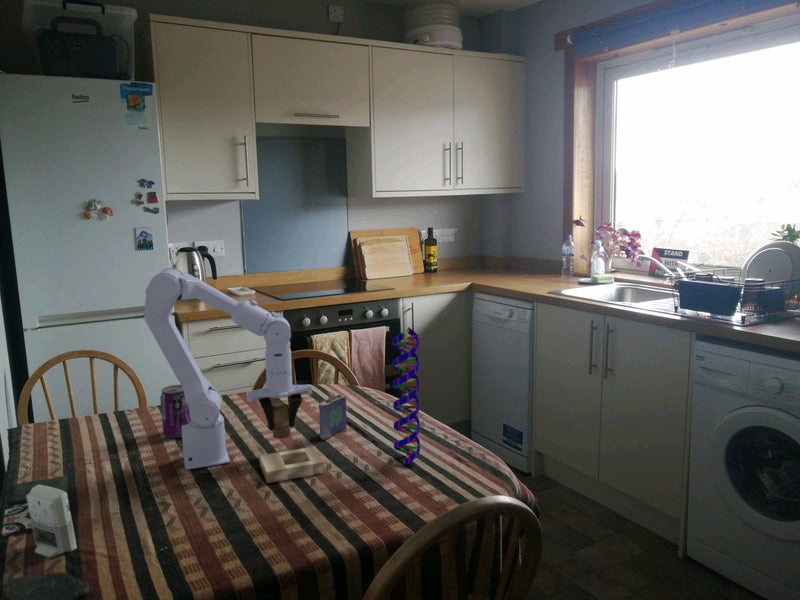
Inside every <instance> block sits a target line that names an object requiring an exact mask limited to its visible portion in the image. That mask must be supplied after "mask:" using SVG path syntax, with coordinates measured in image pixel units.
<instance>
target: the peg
mask: <svg viewBox="0 0 800 600" xmlns="http://www.w3.org/2000/svg"><path fill="white" fill-rule="evenodd" d="M272 421H273V430H272V437H273V438H274V439H278V440H280V439H286V438H289V437H290V436H291V435H292V433H291V427H290V419H289V405H288V403H283V402H279V403H275V404H272Z"/></svg>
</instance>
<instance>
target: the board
mask: <svg viewBox="0 0 800 600" xmlns="http://www.w3.org/2000/svg"><path fill="white" fill-rule="evenodd" d="M259 465H260V469H261V471H262V474H263V476H264V478H265V482H266V483H267V484H269V483H276V482H281V481H287V480H294V479H298V478H305V477H309V476H316V475H321V474H324V461H323V460H322V458H321V456H320V455H319V454H318V452H317V450H316V449H315V448H314V446H310V447H309V446H308V447H304V448H299V449H298V448H297V449H296V448H295V449H292V450H286V451H279V452H278V451H277V452H273V453H266V454H261V455H259Z"/></svg>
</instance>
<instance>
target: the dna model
mask: <svg viewBox="0 0 800 600" xmlns="http://www.w3.org/2000/svg"><path fill="white" fill-rule="evenodd" d="M407 335H409V336H407ZM413 339H414V340H415V341H416V342H412V341H411V342H408V341H407V340H413ZM406 341H407V342H406ZM391 344H392V346H393V348H394V349H396V350H398V351H400V352H403V354H400V355H399V356H397V357H395V358H394V359H393V360H392V363H391V364H392V367H393V369H395V370H397V371H399V372H401V373H403V374H404V375H402V376H400V377H397V378H396V379H394V380H392V381H393V382H392V388H393V389H394V390H396V391H398V392H400V393H403V394H405V395H404V396H403V397H402V396H401V397H400V398H399V399H396V400H394V402H393V405H392V406H393V409H394V410H395V411H398V412H401V413H403V414H404V415H406V416H405V417H403V418H401V419H397V420H395V421H394V423H393V429H394V430H395V431H397V432H400V433H403V434H405V437H404V438H403V439H400V440H398V441H395V442H393V449H394V450H395V451H397V452H400V453H404V454H406V456H405V458H404V460H403V464H404V466H407V465H409V464H411V463H412V462H413V461H414V460H416V458H417V457H418V456H419V454H420V452H421V441H420V438H419V437H418V435H419V433H420V430H421V422H420V418H419V416H418V414H419V412H420V409H421V401H420V399H419V397H418V396H417V395H418V393H419V391H420V387H421V384H420V383H421V382H420V379H419V377H418V376H417V373H418V371H419V369H420V365H421V364H420V358H419V356H418V355H417V351H418V350H419V349H420V336H419V335H418V334H417V333H416V331H414V330H413V329H412V328H410V327H407V329H406V330H405V331H404V332H401V333H399V334H397V335H395V336H394V337H393V339H392V341H391ZM407 346H412V348H411V349H410V348H409V347H407ZM413 346H414V347H413ZM412 361H415V362H416V364H409V363H408V362H412ZM404 363H405V364H404ZM407 363H408V364H407ZM410 368H413V369H412V370H411V369H410ZM413 382H416V385H415V384H414V385H413V384H411V385H410V383H413ZM408 383H409V384H408ZM411 389H414V390H411ZM414 402H415V403H416V404H417V405H407V404H410V403H414ZM412 410H414V411H412ZM412 423H416V424H417V426H410V425H409V426H407V425H408V424H412ZM413 430H415V431H413ZM412 443H416V444H417V445H415V446H414V445H409V444H412ZM410 450H415V451H414V452H413V453H412V451H410Z"/></svg>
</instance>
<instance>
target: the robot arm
mask: <svg viewBox="0 0 800 600" xmlns="http://www.w3.org/2000/svg"><path fill="white" fill-rule="evenodd" d="M144 292H145V303H144V311H143V312H144V314H143V318H144V322H145V323H146V325H147V327H148V329H149V330H150V333H151V334H152V335H153V337H154V339H155V341H156V343H157V345H158V346H159V349H160V350H161V352H162V353H163V356H164V357H165V359H166V361H167V363H168V364H169V366H170V368H171V369H172V371H173V374H174V375H175V377H176V379H177V381H178V383H179V385H181V386H182V388H183V390H184V395H185V400H186V403H187V404H188V407H189V416H190V419H191V421H190V423H189V424H187V425H183V426H182V437H181V438H182V449H181V457H182V459H183V461H184V462H183V463H184V470H192V469H199V468H205V467H206V468H207V467H210V466H211V467H212V466H217V465H225V464H229V463H230V462H231V460H230V456H229V454H228V450H227V448H226V431H225V430H226V429H225V418H224V416H223V415H222V414H221V411H220V410H221V407H222V406H223V402H224V401H223V396H222V394H221V393H220V391H219V390H217V389H216V388H214V387H213V385H212V384H211V383H210V381H209V380H208V379H207V378H206V377H204V375H203V373H202V371H201V369H200V367H199V365H198V364H197V362H196V359H194V357H193V354H192V353H191V351H190V349H189V347H188V345H187V344H186V342H185V340H184V338H183V336H182V335H181V333H180V331H179V329H178V327H177V326H176V324H175V321H174V320H173V318H172V317H171V314H172V311H173V310H174V306H175V304H176V301H177V299H178V298H179V297H180V296H181V298H180V299H181V300H182V301H187V300H195V299H196V300H199V301H201V302H203V303H206V304H208V306H209V305H210V306H212V307H214V308H216V309H217V310H220V311H223V312H224V313H227V314H228V315H230V317H231V320H232V323H233V324H236V325H238V326H239V327H242V328H243V329H245V330H247V331H249V332H251V333H253V334H254V335H256V336H259V337H260V336H261V337H263V339H264V341H265V345H266V348H265V349H266V350H265V355H264V356H265V378H266V387H264V388H259V389H255V390H247V391H246V400H247V403H253V402H255V401H258V402H259V404H260V406H261V409H262V410H263V413H264V416H265V418H266V421H267V427H268V430H269V431H273V421H272V405H273V403H272V400H271V399H277V398H287V404H288V406H289V419H290V429H291V428H294V427H295V420H296V418H297V413H298V410H299V408H300V406H301V404H302V403H303V397H302V396H304V395H308V396H310V395H313V387H312V385H311V384H293V373H292V370H293V369H292V367H293V366H292V349H291V341H290V340H291V338H292V333H291V325H290V322H288V320H287V319H286V318H285V317H283V316H282V315H281V314H280V315H279V314H276V312H274V311H271V312H269V311H267V310H266V309H264V308H262V307H261V306H258V302H257V301H255V300H253V299H252V300H251V301H249V300H247V299H244V300H240V301H238V300H235V299H234V298H232V297H230V296H229V295H227V294H225V293H223V292H221V291H220V290H218V289H217V288H216V287H215V288H214V287H213V286H211V285H210V284H208V283H206V282H205V281H203V280H202V279H199V278H197V277H196V276H194V275H192V274H190V273H187V272H185V273H184V272H182V270H180V269H178V268H175V267H167V268H165V269H162V270H161V271H159V273H157V274H155V275H154V276H153V277H152V278H151V279H150V281H149V283H148V285H147V286H146V289H145V291H144Z"/></svg>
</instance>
